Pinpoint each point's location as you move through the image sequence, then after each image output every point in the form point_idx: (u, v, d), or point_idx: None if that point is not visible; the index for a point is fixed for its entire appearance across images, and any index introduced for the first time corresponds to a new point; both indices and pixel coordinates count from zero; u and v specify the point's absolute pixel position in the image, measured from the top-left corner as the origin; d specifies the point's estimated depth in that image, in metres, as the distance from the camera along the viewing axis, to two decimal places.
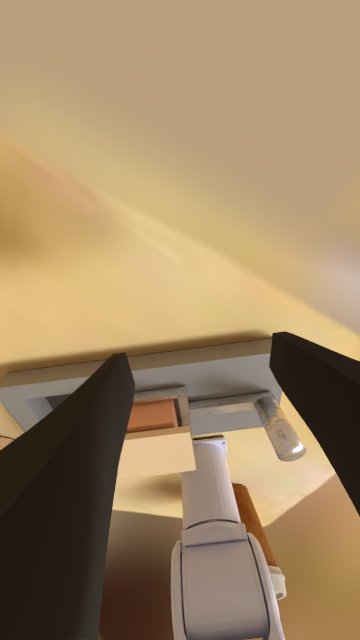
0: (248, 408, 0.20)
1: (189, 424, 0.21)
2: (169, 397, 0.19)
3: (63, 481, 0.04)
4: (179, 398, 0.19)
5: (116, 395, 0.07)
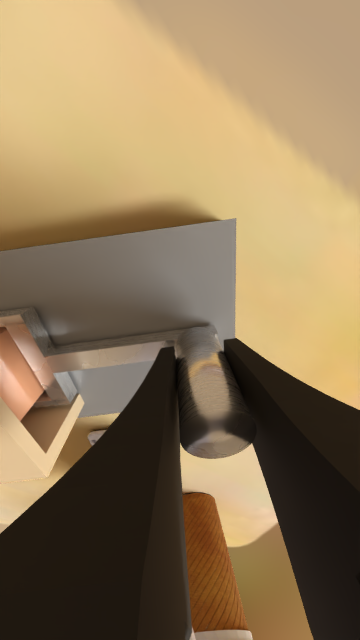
0: None
1: (58, 389, 0.11)
2: None
3: (167, 468, 0.04)
4: (9, 327, 0.09)
5: (174, 387, 0.07)
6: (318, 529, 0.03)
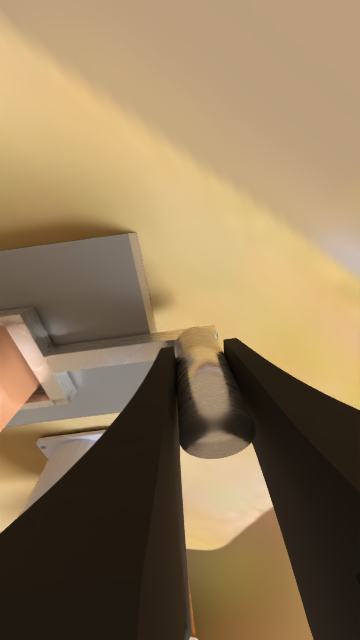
0: None
1: (58, 389, 0.11)
2: None
3: (167, 468, 0.04)
4: (8, 327, 0.09)
5: (174, 387, 0.07)
6: (318, 529, 0.03)
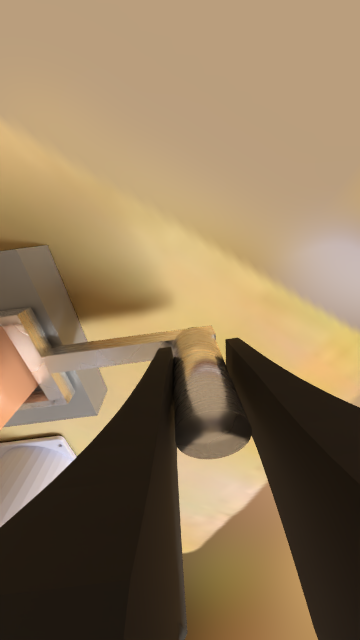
0: None
1: (56, 389, 0.11)
2: None
3: (161, 469, 0.04)
4: (6, 327, 0.09)
5: (171, 388, 0.07)
6: (323, 528, 0.03)
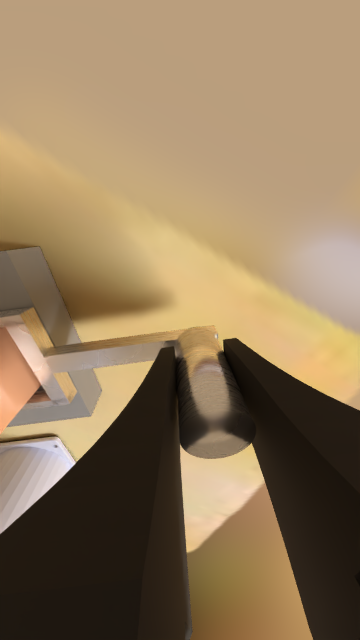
0: None
1: (58, 389, 0.11)
2: None
3: (167, 468, 0.04)
4: (9, 327, 0.09)
5: (174, 387, 0.07)
6: (317, 529, 0.03)
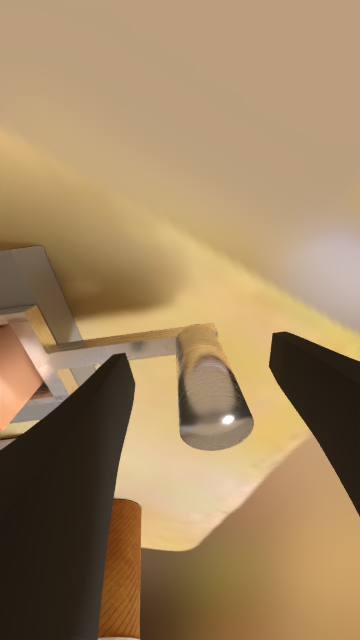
0: (165, 351, 0.11)
1: (61, 386, 0.11)
2: None
3: (63, 481, 0.04)
4: (13, 324, 0.09)
5: (116, 395, 0.07)
6: None
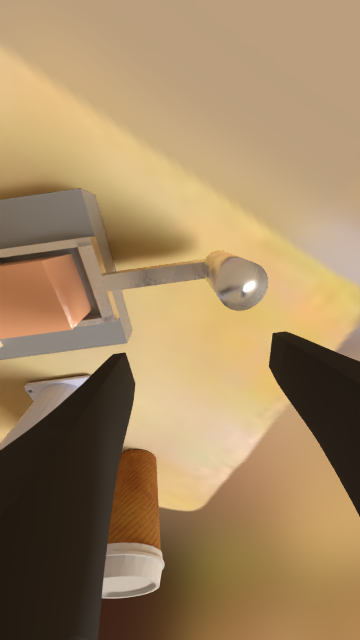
0: (194, 275, 0.13)
1: (109, 307, 0.14)
2: (63, 244, 0.12)
3: (63, 481, 0.04)
4: (80, 247, 0.12)
5: (116, 395, 0.07)
6: None
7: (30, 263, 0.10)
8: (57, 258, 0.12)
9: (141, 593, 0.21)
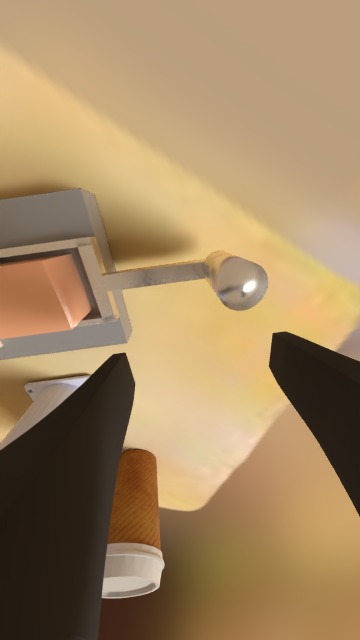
0: (194, 275, 0.13)
1: (109, 307, 0.14)
2: (63, 244, 0.12)
3: (63, 481, 0.04)
4: (80, 247, 0.12)
5: (116, 395, 0.07)
6: None
7: (30, 263, 0.10)
8: (57, 258, 0.12)
9: (141, 593, 0.21)
